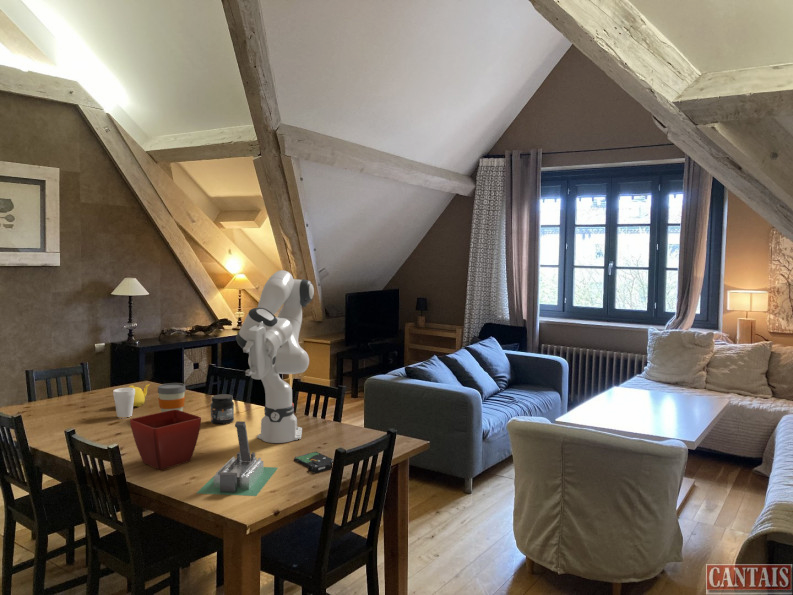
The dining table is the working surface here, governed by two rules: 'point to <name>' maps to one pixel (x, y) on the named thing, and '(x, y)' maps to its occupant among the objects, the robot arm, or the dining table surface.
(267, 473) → the circuit board
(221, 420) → the supplement container
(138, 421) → the plant pot
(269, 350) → the robot arm
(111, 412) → the dining table surface
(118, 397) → the foam cup
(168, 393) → the reusable coffee cup
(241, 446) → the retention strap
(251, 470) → the heat sink
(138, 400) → the teapot
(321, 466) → the disk drive
